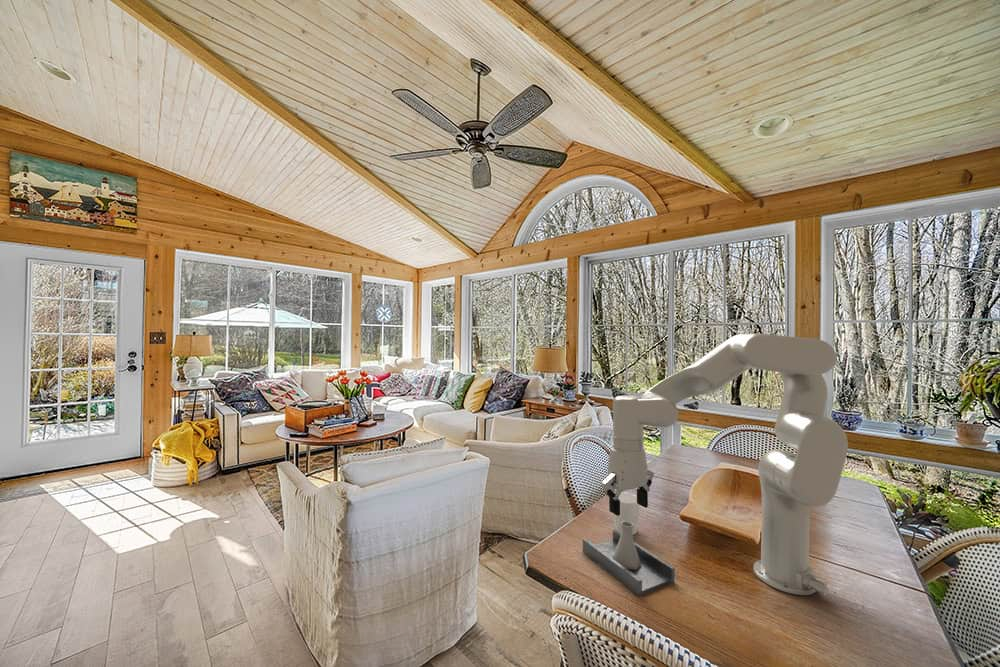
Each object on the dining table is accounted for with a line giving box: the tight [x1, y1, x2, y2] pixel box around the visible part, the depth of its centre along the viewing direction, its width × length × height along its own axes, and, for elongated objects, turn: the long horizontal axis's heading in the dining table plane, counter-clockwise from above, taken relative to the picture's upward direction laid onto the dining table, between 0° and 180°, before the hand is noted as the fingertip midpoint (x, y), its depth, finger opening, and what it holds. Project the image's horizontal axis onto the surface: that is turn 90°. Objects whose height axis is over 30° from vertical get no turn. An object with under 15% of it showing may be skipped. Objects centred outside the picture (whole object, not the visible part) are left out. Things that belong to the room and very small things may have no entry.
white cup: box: [612, 491, 640, 536], centre depth 119 cm, size 8×8×10 cm
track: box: [582, 529, 676, 597], centre depth 100 cm, size 20×12×4 cm, turn 27°
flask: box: [612, 521, 641, 570], centre depth 100 cm, size 7×7×10 cm
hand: (628, 509), depth 100 cm, fingers open, 9 cm apart
